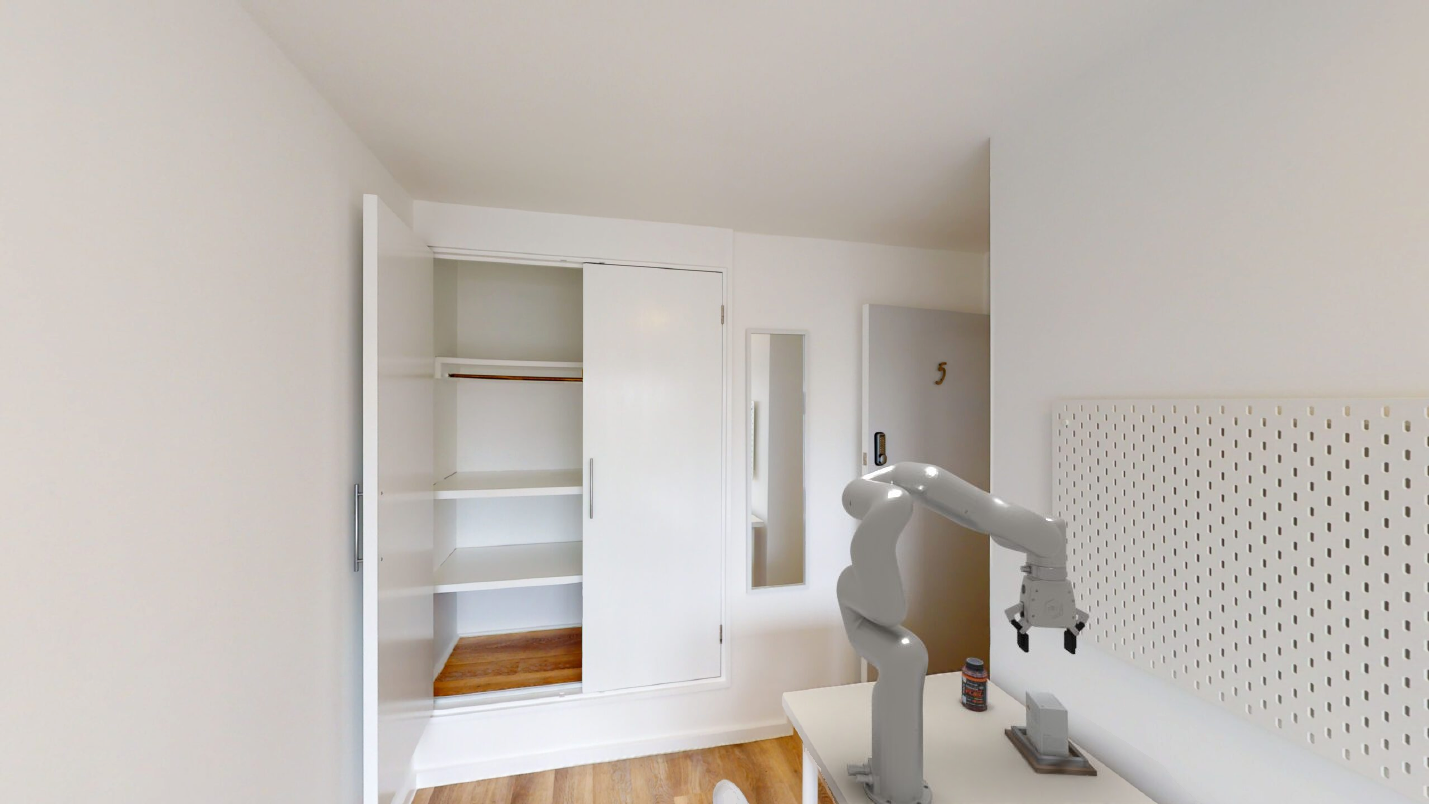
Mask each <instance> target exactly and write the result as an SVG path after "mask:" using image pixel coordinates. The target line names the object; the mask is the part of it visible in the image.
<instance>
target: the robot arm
mask: <svg viewBox="0 0 1429 804" xmlns="http://www.w3.org/2000/svg"><path fill="white" fill-rule="evenodd" d="M841 504H842V506H843V509H844V511H845V512H846V513H847V514H848V515H849V516H851V517H852V518H854V519H856V520H858V521H860V523H859V525H858V527H857V528H856V530H855V532H854V533H853V535H852V539H851V542H850V550H849V551H850V552H849V553H850V560H851V564H850V565H847V566H846V567H845V568H844V569H843V570H842V571H841V572H840V574H839V576H838V578H837V582H836V588H835V589H836V590H835V591H836V599H837V602H838V606H839V609H840V614H841V618H842V622H843V625H844V629H845V633H846V636H847V640H848V642H849V644H850V646H851V648H852V649H853V650H854V652H855V653H856V654H858V656H860V657H861V658H862V659H864V660H865V661H866V662H868V663H869V664H870V665H872V667H874V668H875V669H876V670H877V671H878V675H877V679H876V681H875V683H874V685H873V687H872V692H871V757H868V758H867V763H863V764H862V765H859V764H848V763H847V764H846V765H847V766H846V767H847V768H846V771H847V776H848V777H855V782H856V784H863V789H864V791H865V794H866V795H867V796H868V797H869V798H870V799H871V801H873V802H874V803H875V804H932V802H933V801H932V800H933V792H932V789H931V787H930V785H929V783H928V782H927V781H926V780H925V779H924V687H925V680H926V677H927V670H928V667H929V653H928V649H927V648H926V645H925V644H924V642H923V641H922V640H921V638H920V637H918V636H917V635H916V634H915V633H914V632H912V631H911V630H909V629H908V628H907V627H904V626H902V625H901V624H902V623H904V620H906V617H907V614H908V601H907V595H906V591H905V587H904V584H903V580H902V576H901V572H900V568H899V563H898V559H897V552H896V551H897V543H898V540H899V538H900V536H901V534H902V532H904V530H905V528H906V527H907V525H908V524H909V522H910V520H911V519H912V517H913V514H914V508H915V507H914V504H917V505H920V506H923V507H925V508H927V509H929V510H931V511H932V512H935V513H936V514H939V515H941V516H943V517H945V518H947V519H949V520H950V521H952V522H954V523H956V524H958V525H960V526H961V527H963V528H967V529H970V530H972V531H975V532H978V533H981V534H984V535H989V536H990V538H991V540H992V541H994V543H996V545H998V546H1000V547H1002V548H1005V549H1008V550H1011V551H1016V552H1019V553H1023V554H1025V555H1026V560H1025V565H1021V566H1020V572H1021V573H1025V574H1024V575H1023V577H1022V580H1021V586H1020V592H1019V593H1020V594H1019V602H1018V603H1016V604H1014V605H1012V606H1010V607H1008V608H1006V609H1004V611H1003V612H1004V614H1005V616H1006V618H1007V620H1008V622H1009V623H1010V624H1011V626H1013V627H1014V628H1015V629H1016V642H1017V643H1016V644H1017V646H1018V648H1019V649H1020V650H1021V651H1022V652H1024V653H1028V654H1029V652H1030V635H1029V634H1028V633H1027V632H1028V631H1029V629H1031V627H1034V628H1041V629H1042V628H1045V629H1046V628H1047V629H1065V630H1064V631H1063V649H1064V650H1065V651H1067V652H1069V654H1071V655H1076V650H1077V648H1078V646H1077V644H1078V643H1077V642H1078V641H1077V638H1078V636H1080V632H1081V631H1082V630H1083V629H1084V628H1085V627H1086V624H1087V622H1088V620H1089V619H1090V615H1089V614H1088V613H1087V612H1086V611H1083V610H1082V609H1080V608H1077V607H1076V600H1075V593H1074V589H1073V584H1072V581H1071V580H1070V579H1067V524H1066V520H1065V519H1064V518H1063V517H1061V516H1060V515H1059V516H1058V515H1053V514H1048V513H1036V512H1035V511H1032V510H1031V509H1028V508H1025V507H1023V506H1021V505H1018V504H1016V503H1014V502H1012V501H1008V500H1006V499H1004V498H1002V497H1000V496H997V495H995V494H993V493H989V492H988V491H985V490H982V489H981V488H979V487H977V486H975V485H974V484H971V483H970V482H968V481H966V480H964V479H963V478H960V477H959V476H957V475H956V474H954V473H952V472H950V471H948V470H946V469H944V468H942V467H941V466H938V465H935V464H932V463H931V464H930V463H924V462H914V461H900V462H896V463H894V464H891V465H888V466H886V467H883V468H880V469H877V470H875V471H872V472H869V473H867V474H864V475H861V476H859V477H856V478H854V479H852V481H850V482H849V483H848V484H846V486H845V487H844V489H843V490H842V494H841ZM1016 614H1019V617H1020V618H1019V619H1018V621H1017V619H1016V617H1015V616H1016ZM1077 616H1078V617H1077Z"/></svg>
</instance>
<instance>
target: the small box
mask: <svg viewBox="0 0 1429 804" xmlns="http://www.w3.org/2000/svg"><path fill="white" fill-rule="evenodd" d="M1068 713H1069V712H1068V709H1067V708H1066V707H1065V706H1064V705H1063V704H1062V703H1061V701H1060V700H1059V699H1058V698H1057V697H1056V696H1055V694H1054V693H1052V692H1049V691H1048V692H1046V691H1038V690H1037V691H1036V690H1025V715H1026V716H1025V722H1026V723H1025V724H1026V725H1025V726H1026V733H1027V738H1028V740H1029V741H1030V742H1031V744H1032V745H1033V747H1034V748H1035V749H1036V751H1037V752H1038V753H1039V754H1040V755H1041V756H1061V757H1069V752H1068V740H1069V720H1068V719H1069V718H1068V717H1069V716H1068V715H1069V714H1068Z"/></svg>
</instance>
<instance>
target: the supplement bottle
mask: <svg viewBox="0 0 1429 804" xmlns="http://www.w3.org/2000/svg"><path fill="white" fill-rule="evenodd" d="M965 661H966V663H965V665H964V666H963V667H962V669H961V703H962V705H963V706H964V707H966V708H967V709H969V710H971V711H976V712H984V711H986V710H987V709H988V691H989V689H988V686H989V685H988V683H989V682H988V676H989V675H988V672H987V670H985V669H984V661H983V660H981V659H979V658H976V657H967V658H966V659H965Z"/></svg>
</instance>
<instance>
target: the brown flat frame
mask: <svg viewBox="0 0 1429 804" xmlns="http://www.w3.org/2000/svg"><path fill="white" fill-rule="evenodd" d="M1004 735H1005V736H1006V737H1007V739H1008V740H1009V741H1010V742H1011V744H1012V745H1013V746H1014V747H1015V749H1016V750H1017V751H1018V752H1019V754H1020V755H1021V756H1022V758H1023V759H1024V760H1025V762H1026V763H1027V764H1028V765H1029V767H1031V769H1032V770H1033V771H1034V773H1035V774H1048V775H1049V774H1050V775H1067V776H1069V775H1071V776H1087V775H1088V776H1087V777H1089V776H1090V777H1097V776H1098V770H1097V769H1096V768H1094V766H1093V765H1091V763H1090V760H1089V759H1088V758H1087V757H1086V756H1085V755H1084V754H1083V753H1082V752H1081V751H1080V750H1079V749H1078V748H1077V747H1076V746H1075V745H1074V744H1073V743H1072V742H1071V741H1070V740H1069V739H1068V752H1069V757H1061V756H1041V755H1040V754H1039V753H1038V752H1037V751H1036V749H1035V748H1034V747H1033V745H1032V744H1031V742H1030V741H1029V740H1028V738H1027V733H1026V725H1010V729H1008V728H1004Z"/></svg>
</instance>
